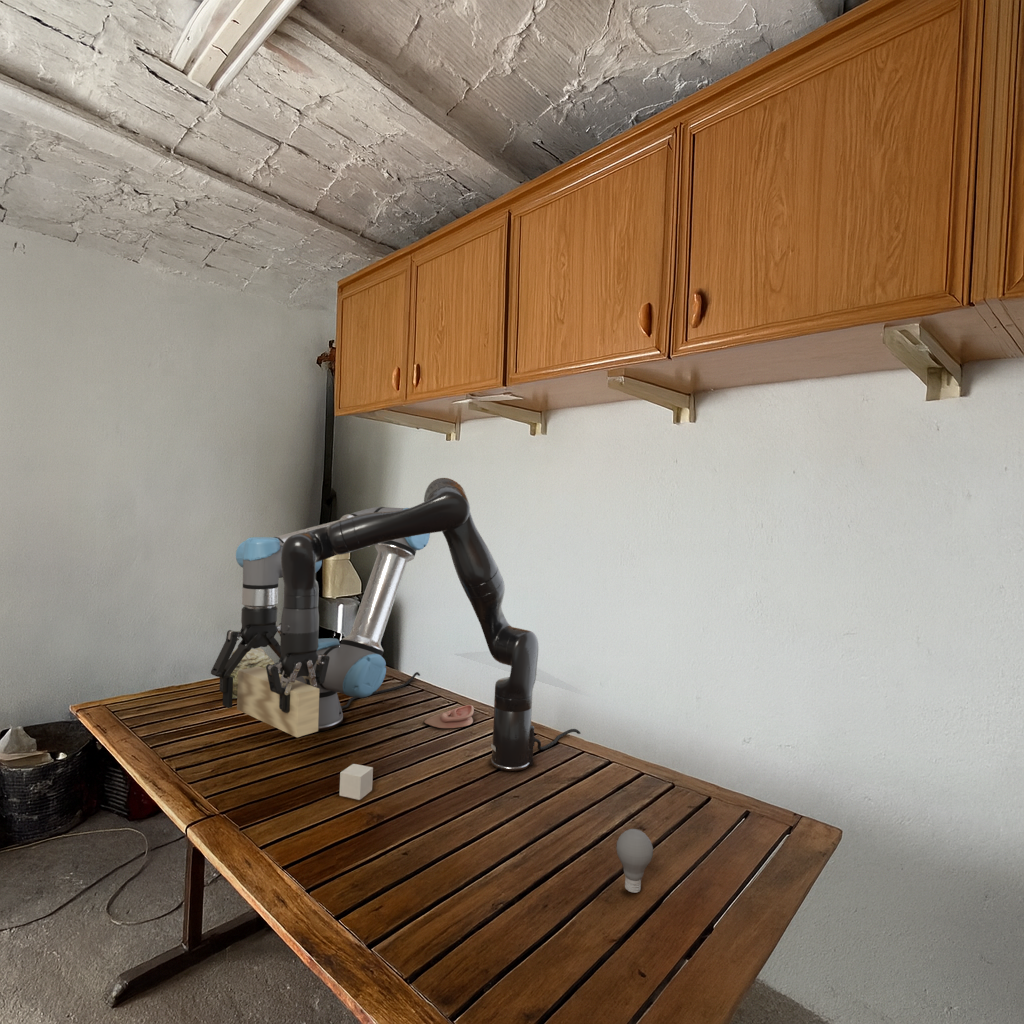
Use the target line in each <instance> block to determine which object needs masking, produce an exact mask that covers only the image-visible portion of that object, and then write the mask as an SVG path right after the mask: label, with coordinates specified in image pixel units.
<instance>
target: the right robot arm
mask: <svg viewBox="0 0 1024 1024" xmlns="http://www.w3.org/2000/svg"><path fill="white" fill-rule="evenodd" d="M407 508H408V509H405V510H400V511H393V512H375V513H366V514H361V515H357V516H354V517H351V518H348V519H344V520H341V521H338V522H335V523H333V524H331V525H330V526H327V527H322V528H319V529H315V530H311V531H307V532H303V533H299V534H295V535H292V536H290V537H289V538H288V539H287V540H286V541H285V542H284V544H283V547H282V552H281V565H282V574H283V577H282V581H283V593H282V594H283V595H282V596H283V598H282V613H281V618H280V619H281V620H280V623H281V637H280V649H281V658H279V661H277V662H274V663H275V664H273V665H271V664H268V665H267V666H266V670H267V675H268V681H269V686H270V690H271V691H272V692H275V693H277V694H279V695H280V697H279V708H280V709H281V710H282V711H283V712H285V713H287V712H290V695H289V693H290V690H291V687H292V685H293V684H294V683H295V680H296V678H298V677H300V676H302V677H303V678H304V680H305V683H306V684H308V685H311V686H313V687H317V686H318V685H319V684H323V683H324V681H325V677H326V672H327V668H328V664H329V659H330V657H329V656H326V655H323V654H320V655H318V654H317V649H318V639H319V633H320V632H319V630H320V613H319V595H320V594H319V593H320V592H319V590H320V588H319V582H318V581H317V579H316V573H315V567H316V562H319V561H321V560H322V561H324V560H327V559H330V558H333V557H335V556H337V555H341V556H342V555H346V554H349V553H353V552H356V551H360V550H363V549H366V548H369V547H372V546H375V545H376V544H379V543H383V542H387V541H391V540H395V539H400V538H405V537H411V536H416V535H422V534H428V533H430V534H433V533H434V534H435V533H441V532H442V534H443V536H444V538H445V540H446V543H447V546H448V550H449V553H450V557H451V560H452V563H453V567H454V569H455V572H456V575H457V577H458V580H459V583H460V584H461V587H462V589H463V591H464V593H465V596H466V597H467V598H468V600H469V602H470V605H471V607H472V609H473V611H474V614H475V616H476V618H477V620H478V622H479V625H480V627H481V631H482V633H483V637H484V640H485V643H486V645H487V648H488V650H489V653H490V655H491V657H492V658H493V659H494V660H495V661H496V662H498V663H500V664H502V665H506V666H509V667H510V673H509V676H507V677H502V678H500V679H497V680H496V682H495V684H494V700H493V701H494V703H493V722H492V723H493V725H492V726H493V727H492V743H490V745H491V746H490V748H491V761H490V763H491V765H492V767H494V768H496V769H498V770H501V771H505V772H519V771H524V770H526V769H528V768H529V767H531V766H533V764H534V747H535V743H537V750H539V751H544V750H547V749H549V748H551V747H552V746H554V745H556V744H557V742H558V741H559V740H560V739H561V738H563V737H565V736H566V735H568V734H570V733H576V734H577V735H581V731H579V729H577V728H571V729H568V730H565V731H564V732H561V733H560V734H558V735H556V737H555V738H554V740H552V741H550V742H549V743H548V744H546V745H544V746H542V741H541V740H540V739H538V738H537V737H535V726H534V725H533V724H532V710H533V694H534V693H533V691H534V687H535V684H536V680H537V671H538V670H537V669H538V661H539V640H538V637H537V635H536V633H535V632H534V631H531V630H528V629H524V628H519V627H516V626H515V627H514V626H512V625H511V624H510V623H509V622H508V620H507V619H506V616H505V614H504V612H503V608H502V605H503V600H504V596H505V590H506V589H505V585H506V584H505V580H504V579H503V576H502V573H501V571H500V569H499V566H498V564H497V563H496V560H495V558H494V556H493V554H492V553H491V551H490V549H489V547H488V545H487V544H486V542H485V540H484V539H483V537H482V535H481V533H480V532H479V530H478V529H477V527H476V524H475V522H474V519H473V516H472V513H471V506H470V502H469V499H468V496H467V494H466V491H465V489H464V487H462V485H461V484H459V483H458V482H457V481H455V480H454V479H452V478H448V477H438V478H435V479H434V480H432V481H431V482H430V483H429V484H428V486H427V487H426V489H425V492H424V495H423V502H421V503H419V504H417V505H415V506H411V507H407ZM315 663H316V664H317V665H316V669H315V672H314V668H313V667H314V665H315ZM281 668H282V669H283V673H282V676H281V682H280V677H279V673H280V672H281V671H280V669H281ZM288 676H289V677H290V678H288Z"/></svg>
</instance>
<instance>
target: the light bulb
mask: <svg viewBox="0 0 1024 1024" xmlns="http://www.w3.org/2000/svg"><path fill="white" fill-rule="evenodd" d="M615 849H616V854H617V857H618V859H619V861H620V863H621V865H622V867H623V873H624V874H623V875H624V876H625V878H624V888H625V890H627V891H628V892H630V893H634V894H635V893H639V892H640V891H641V889H642V887H641V886H642V879H643V877H644V875H645V871H646V868H647V867H648V866H649V864H650V863H651V861H652V859H653V855H654V847H653V843H652V841H651V838H649V836H648V835H647V834H646V833H645V832H643V831H642V830H641V829H636V828H629V829H627V830H625V831H623V832H622V833H621V834H620V835H619V837H618V839H617V841H616V847H615Z"/></svg>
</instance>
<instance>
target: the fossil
mask: <svg viewBox="0 0 1024 1024" xmlns="http://www.w3.org/2000/svg"><path fill="white" fill-rule="evenodd" d="M235 651H236V649H235V650H233V652H232V654H231V656H232V655H233V653H234V652H235ZM231 656H230V657H231ZM275 663H276V662H274V660H273V659H272V658H271V657H270V656H269V655H268V654H267V653H266V652H265V650H264V649H263V648H262V647H259V648H255V649H254V648H252V649H251V650H250V651H249V652H247V653H246V655H245V656H244V657H243V659H242V660H241V661H240V663H239V664H238V665H237V667H236V668H235V670H234V671H233V672H232V674H231V675H230V677H233V697H232V699H237V693H238V670H242V669H247V668H252V667H258V666H259V667H262V668H265V669H266V666H267V665H268V664H271V665H273V664H275ZM279 674H280V673H279Z"/></svg>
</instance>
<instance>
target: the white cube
mask: <svg viewBox="0 0 1024 1024" xmlns="http://www.w3.org/2000/svg"><path fill="white" fill-rule="evenodd" d="M373 775H374V767H373V766H369V765H362V764H357V763H351V764H350V765H349V766H348V767H346V768H344V769H343V770H341V772H340V773H339V794H338V795H339V797H344V798H348V799H352V800H357V801H361V800H362V799H363V798H364V797H366V796H367V795H369V794H370V793H371V792H372V791H373V783H374V781H373V779H374V778H373V777H374V776H373Z"/></svg>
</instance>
